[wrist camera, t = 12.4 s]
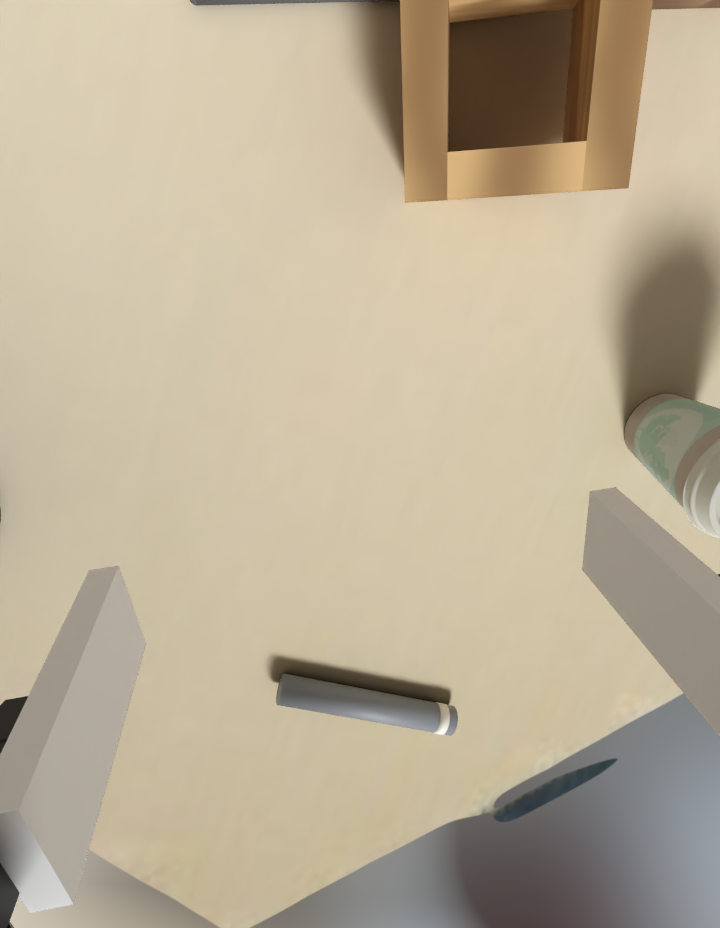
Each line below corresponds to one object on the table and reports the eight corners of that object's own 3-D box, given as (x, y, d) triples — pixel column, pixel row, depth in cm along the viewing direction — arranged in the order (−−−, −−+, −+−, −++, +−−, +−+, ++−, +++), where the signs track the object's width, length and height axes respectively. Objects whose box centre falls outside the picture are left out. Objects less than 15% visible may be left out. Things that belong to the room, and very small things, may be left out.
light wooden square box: (413, 198, 38) (405, 202, 31) (409, -22, 33) (398, -73, 26) (596, 186, 36) (628, 188, 29) (622, -50, 31) (667, -112, 24)
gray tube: (276, 688, 55) (441, 719, 59) (275, 712, 52) (448, 742, 57) (285, 666, 54) (452, 698, 58) (285, 689, 51) (460, 721, 56)
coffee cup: (652, 359, 45) (768, 411, 34) (727, 404, 47) (857, 466, 36) (587, 448, 47) (674, 523, 37) (661, 486, 50) (762, 567, 39)
